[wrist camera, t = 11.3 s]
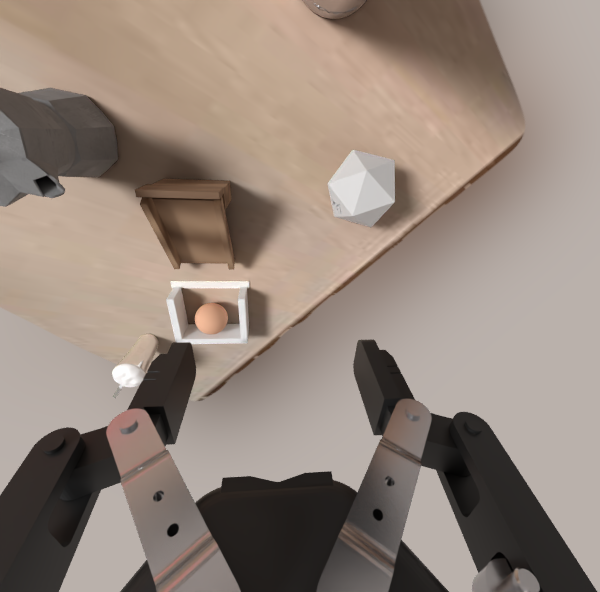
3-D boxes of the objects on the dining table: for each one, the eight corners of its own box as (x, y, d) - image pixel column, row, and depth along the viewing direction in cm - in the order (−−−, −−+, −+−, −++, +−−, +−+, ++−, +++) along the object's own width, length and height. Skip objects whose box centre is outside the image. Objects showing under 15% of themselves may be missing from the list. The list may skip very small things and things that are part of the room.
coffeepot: (148, 132, 34) (44, 139, 19) (124, 201, 38) (21, 253, 22) (-7, 36, 29) (-324, -63, 14) (-17, 126, 33) (-276, 129, 17)
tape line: (170, 281, 44) (170, 281, 44) (249, 281, 45) (249, 281, 45) (172, 287, 45) (171, 288, 45) (249, 287, 46) (249, 288, 46)
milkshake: (128, 345, 50) (98, 391, 41) (142, 326, 48) (114, 369, 40) (152, 357, 52) (129, 403, 43) (167, 339, 50) (145, 383, 41)
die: (335, 139, 37) (311, 186, 32) (406, 133, 33) (390, 185, 29) (344, 193, 43) (324, 239, 39) (404, 193, 40) (390, 243, 35)
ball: (195, 341, 45) (201, 316, 49) (227, 340, 46) (230, 316, 49) (188, 321, 42) (195, 296, 45) (223, 320, 42) (227, 296, 46)
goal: (174, 286, 45) (166, 299, 41) (246, 286, 46) (244, 299, 42) (183, 329, 49) (176, 344, 46) (249, 328, 50) (247, 343, 47)
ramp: (163, 176, 37) (134, 189, 29) (229, 178, 37) (218, 192, 30) (179, 261, 43) (158, 291, 35) (236, 262, 44) (228, 290, 36)
